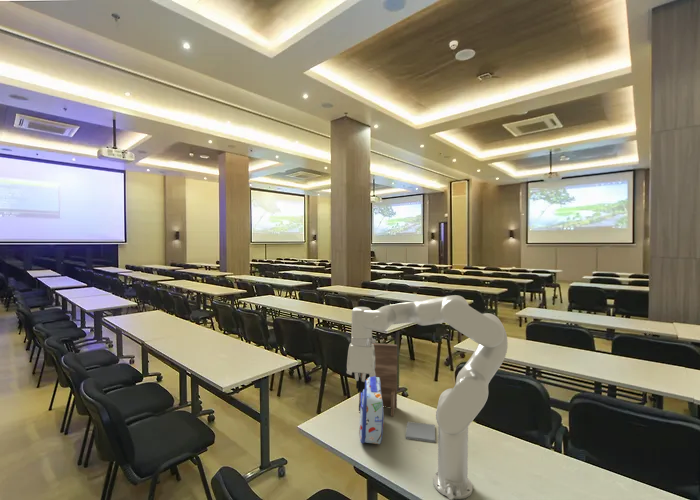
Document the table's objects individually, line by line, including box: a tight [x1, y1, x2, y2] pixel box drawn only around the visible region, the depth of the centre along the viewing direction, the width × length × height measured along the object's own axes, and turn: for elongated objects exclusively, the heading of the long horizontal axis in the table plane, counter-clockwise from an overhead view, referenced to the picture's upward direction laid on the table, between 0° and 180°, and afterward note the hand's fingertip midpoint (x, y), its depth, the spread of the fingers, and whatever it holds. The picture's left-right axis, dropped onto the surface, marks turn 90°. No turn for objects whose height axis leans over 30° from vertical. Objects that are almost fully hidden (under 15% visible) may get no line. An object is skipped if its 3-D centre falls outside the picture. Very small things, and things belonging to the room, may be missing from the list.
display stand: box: [358, 342, 398, 417], centre depth 163 cm, size 10×18×31 cm, turn 77°
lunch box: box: [358, 376, 385, 445], centre depth 144 cm, size 28×10×22 cm, turn 179°
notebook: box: [405, 421, 436, 443], centre depth 143 cm, size 12×12×2 cm
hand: (360, 390), depth 122 cm, fingers closed
